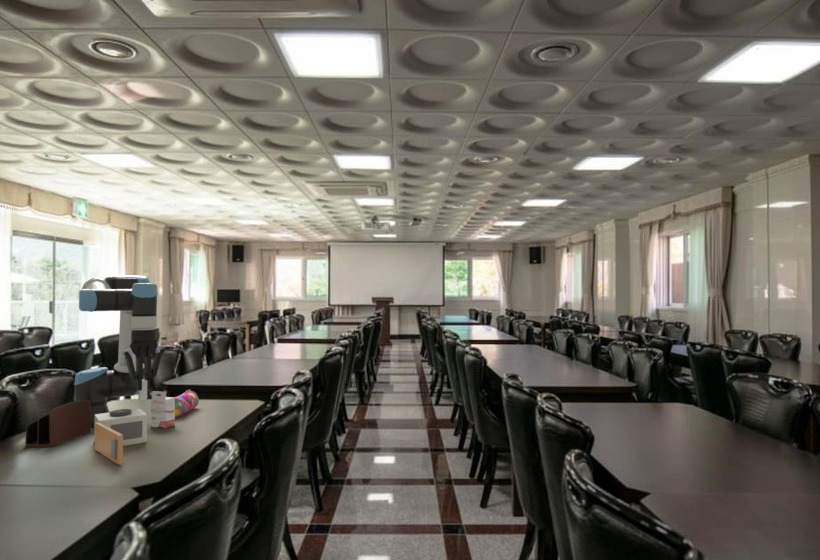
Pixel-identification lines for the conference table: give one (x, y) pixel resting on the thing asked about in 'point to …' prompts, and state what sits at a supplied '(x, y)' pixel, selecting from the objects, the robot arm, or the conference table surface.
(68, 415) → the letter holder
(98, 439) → the side door
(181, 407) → the pencil case
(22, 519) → the conference table surface
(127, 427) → the camera housing
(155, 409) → the ink cartridge box
